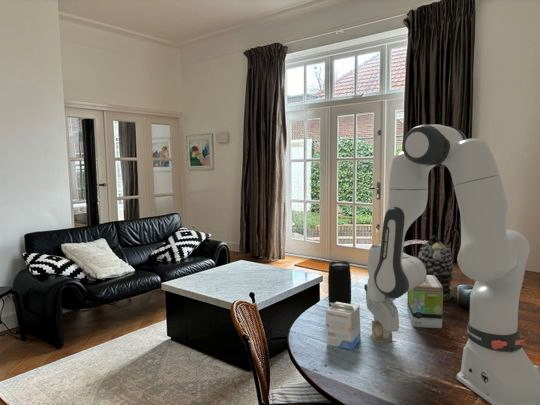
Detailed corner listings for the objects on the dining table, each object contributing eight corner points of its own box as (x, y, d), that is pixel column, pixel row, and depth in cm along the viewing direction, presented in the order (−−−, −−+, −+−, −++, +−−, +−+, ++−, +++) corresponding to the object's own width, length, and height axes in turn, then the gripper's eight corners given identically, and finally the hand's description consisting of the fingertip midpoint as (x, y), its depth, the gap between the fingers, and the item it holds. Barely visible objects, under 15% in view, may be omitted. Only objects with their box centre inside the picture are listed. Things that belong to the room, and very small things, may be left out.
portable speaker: (350, 308, 159) (350, 259, 157) (352, 318, 150) (351, 266, 148) (328, 308, 160) (327, 259, 158) (328, 317, 151) (327, 266, 149)
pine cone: (460, 303, 160) (461, 241, 157) (420, 302, 163) (420, 241, 160) (446, 286, 180) (447, 231, 178) (411, 286, 183) (411, 231, 180)
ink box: (361, 339, 132) (360, 300, 131) (351, 350, 125) (351, 308, 124) (336, 334, 137) (335, 296, 135) (326, 344, 130) (325, 304, 128)
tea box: (443, 329, 138) (443, 286, 136) (412, 327, 140) (412, 286, 138) (434, 312, 153) (435, 273, 151) (406, 311, 155) (406, 273, 153)
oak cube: (392, 341, 131) (392, 326, 130) (377, 342, 130) (377, 327, 130) (386, 334, 136) (386, 319, 135) (371, 335, 135) (371, 320, 135)
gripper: (404, 303, 121) (404, 347, 123) (380, 282, 141) (380, 320, 143) (383, 304, 121) (384, 348, 122) (362, 283, 141) (362, 321, 143)
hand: (381, 333), depth 133 cm, fingers closed on oak cube, 5 cm apart
